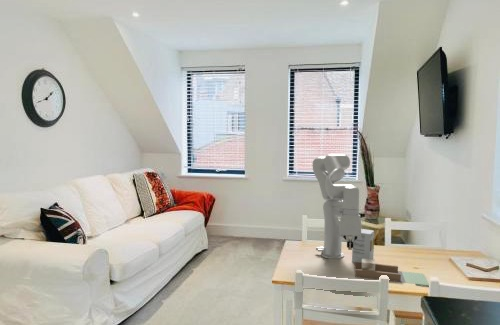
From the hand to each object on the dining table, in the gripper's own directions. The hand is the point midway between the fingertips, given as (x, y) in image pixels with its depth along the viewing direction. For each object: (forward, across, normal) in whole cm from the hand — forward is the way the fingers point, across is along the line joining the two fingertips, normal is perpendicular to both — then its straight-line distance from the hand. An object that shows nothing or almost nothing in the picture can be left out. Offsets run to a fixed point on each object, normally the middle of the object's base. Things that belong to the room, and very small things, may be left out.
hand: (350, 249), depth 173 cm
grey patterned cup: (+11, +9, +1) cm, 14 cm away
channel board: (+12, +19, +1) cm, 22 cm away
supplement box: (+12, +7, +18) cm, 22 cm away
